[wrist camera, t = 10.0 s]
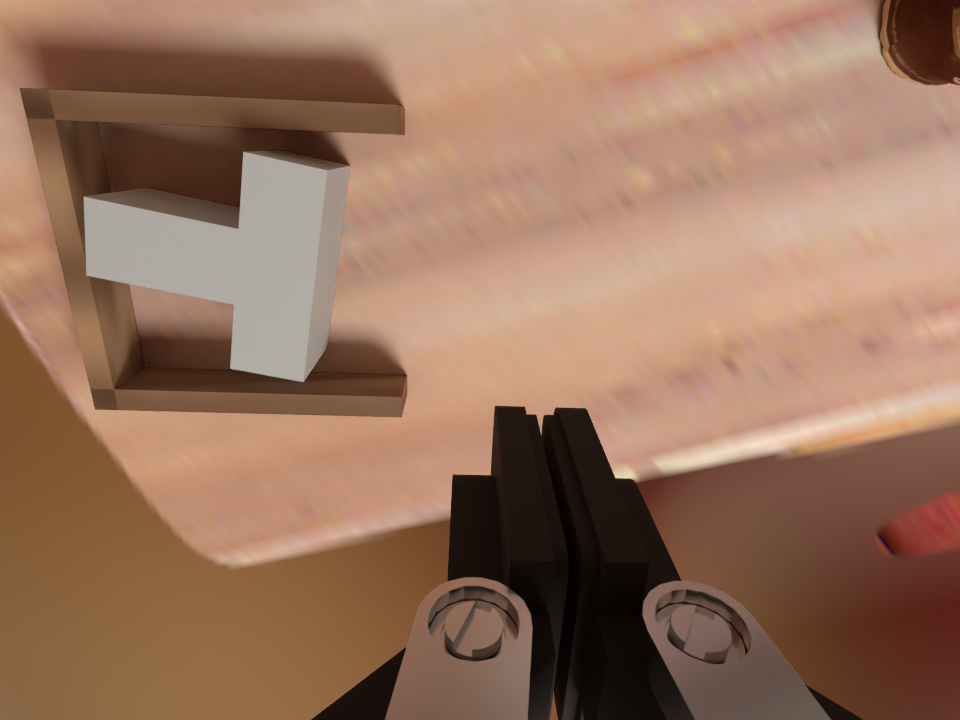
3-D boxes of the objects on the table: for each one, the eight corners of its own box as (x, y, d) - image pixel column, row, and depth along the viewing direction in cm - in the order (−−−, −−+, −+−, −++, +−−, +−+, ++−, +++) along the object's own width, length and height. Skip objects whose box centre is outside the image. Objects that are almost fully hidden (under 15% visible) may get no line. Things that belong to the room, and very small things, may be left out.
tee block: (146, 120, 27) (80, 115, 23) (350, 165, 28) (327, 170, 24) (146, 312, 31) (88, 342, 26) (327, 347, 32) (303, 381, 27)
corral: (66, 93, 27) (19, 88, 24) (404, 108, 27) (397, 104, 25) (127, 386, 32) (95, 409, 30) (407, 393, 33) (401, 417, 30)
